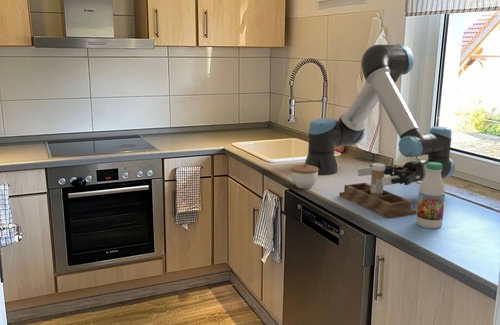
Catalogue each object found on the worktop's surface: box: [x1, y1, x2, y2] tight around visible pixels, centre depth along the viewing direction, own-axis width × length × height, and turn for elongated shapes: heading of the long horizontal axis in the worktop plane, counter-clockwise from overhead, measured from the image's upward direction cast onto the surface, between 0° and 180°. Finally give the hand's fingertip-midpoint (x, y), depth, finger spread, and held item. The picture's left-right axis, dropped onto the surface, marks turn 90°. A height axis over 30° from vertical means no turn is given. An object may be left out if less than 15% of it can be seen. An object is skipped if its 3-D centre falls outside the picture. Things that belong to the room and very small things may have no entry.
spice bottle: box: [370, 162, 386, 196], centre depth 175 cm, size 5×5×13 cm
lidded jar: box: [290, 163, 319, 190], centre depth 198 cm, size 11×11×9 cm
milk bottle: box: [415, 162, 446, 229], centre depth 154 cm, size 8×8×20 cm
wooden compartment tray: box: [338, 182, 417, 219], centre depth 177 cm, size 28×12×4 cm, turn 24°
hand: (369, 176), depth 174 cm, fingers open, 13 cm apart
